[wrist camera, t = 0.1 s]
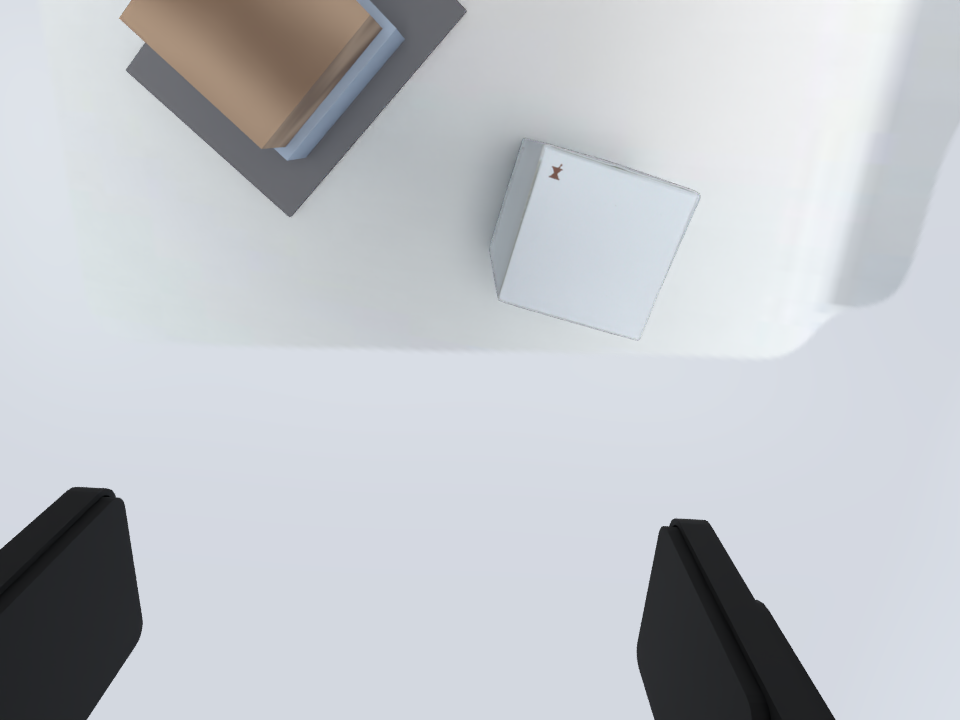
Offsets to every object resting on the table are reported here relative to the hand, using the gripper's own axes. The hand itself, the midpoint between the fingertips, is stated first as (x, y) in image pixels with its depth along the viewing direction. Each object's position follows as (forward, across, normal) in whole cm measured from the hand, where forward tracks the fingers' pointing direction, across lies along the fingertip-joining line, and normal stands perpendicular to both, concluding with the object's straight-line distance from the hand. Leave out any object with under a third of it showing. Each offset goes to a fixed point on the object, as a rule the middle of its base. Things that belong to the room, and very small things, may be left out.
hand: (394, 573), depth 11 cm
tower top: (+27, +10, -12) cm, 31 cm away
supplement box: (+31, -6, -3) cm, 32 cm away
